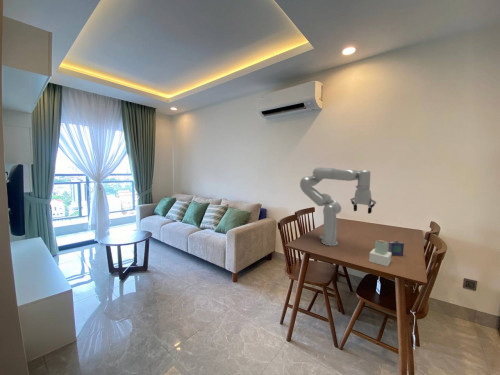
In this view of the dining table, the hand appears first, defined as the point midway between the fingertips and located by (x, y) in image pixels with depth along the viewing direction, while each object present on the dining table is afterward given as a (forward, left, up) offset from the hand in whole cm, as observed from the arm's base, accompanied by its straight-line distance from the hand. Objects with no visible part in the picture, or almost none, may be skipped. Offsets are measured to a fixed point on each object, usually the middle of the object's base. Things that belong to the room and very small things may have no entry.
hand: (362, 212), depth 148 cm
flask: (+18, +12, -29) cm, 36 cm away
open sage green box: (+16, -7, -22) cm, 29 cm away
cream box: (+16, -7, -29) cm, 34 cm away
